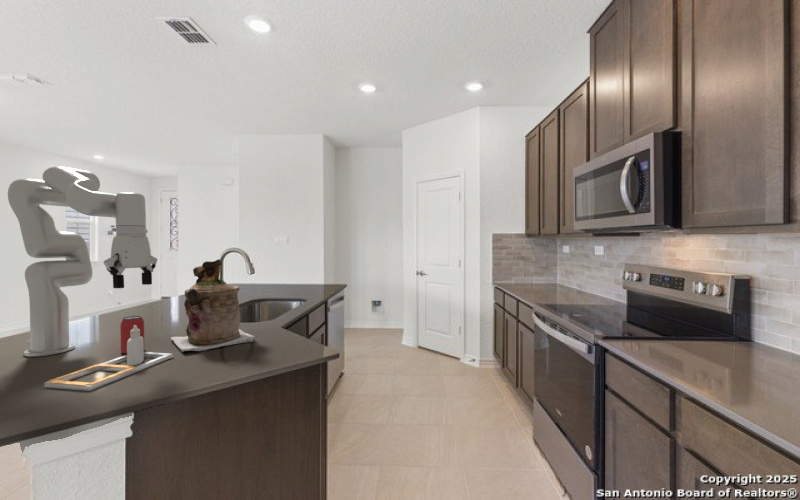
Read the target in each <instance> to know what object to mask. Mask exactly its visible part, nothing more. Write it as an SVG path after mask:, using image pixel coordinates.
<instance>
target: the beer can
mask: <svg viewBox="0 0 800 500" xmlns="http://www.w3.org/2000/svg"><path fill="white" fill-rule="evenodd" d="M134 325H137V328H138V329H140V336H141V337H143V344H144V345H145V320H144V318H143V316H142V315H130V316H125V317H122V319H121V322H120V326H119V327H120V353H122V354H125V355H127V341H128V340H129V339H130V338H131V337H130V331H131V330H132V329H133V327H134Z"/></svg>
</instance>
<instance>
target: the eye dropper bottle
mask: <svg viewBox="0 0 800 500" xmlns="http://www.w3.org/2000/svg"><path fill="white" fill-rule="evenodd" d="M130 337H131V338H130V339H129V340H128V341H127V354H126V355H127V360H126V365H127V366H138V365H140V364H143V363H144V359H145V357H144V352H145V343H144V344H143V337H141V336H140V329H138V328H137V325H134V327H133V329H132V330H131V331H130Z"/></svg>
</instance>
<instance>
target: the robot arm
mask: <svg viewBox="0 0 800 500" xmlns="http://www.w3.org/2000/svg"><path fill="white" fill-rule="evenodd" d="M100 187H101V182H100V179H99V177H98V176H97V175H96V174H95V173H93V172H91V171H89V170H83V169H78V168H72V167H65V166H51V167H49V168H47V169H45V170H44V171H43V173H42V179H36V178H33V179H32V178H20V179H15V180H14V181H12V182H11V183H10V184H9V186H8V190H7V200H8V203H9V206H10V208H11V210H12V212H13V213H14V215H15V217H16V218H17V221H18V223H19V229H20V233H21V237H22V241H23V245H24V249H25V252H26V254H27V255H28V256H29V257H31V258H34V259H35V258H36V259H57V260H42V261H41V260H40V261H37V262H33V263H31V264H29V265H28V266H27V267H26V269H25V271H24V279H25V282H26V286H27V290H28V297H29V299H28V300H29V333H30V334H29V335H30V336H29V337H30V339H28V340H27V341H25V342H24V345H25V346H28V349H27V350H24V351H23V356H25V357H36V358H37V357H45V356H52V355H57V354H63V353H66V352H69V351H71V350H73V349H75V348H76V344H75V343H73V342H70V321H69V320H70V317H69V316H70V308H69V307H70V305H69V298H68V296H67V295H66V293H64V291H62V289H61V288H66V287H77V286H82V285H86V284H88V283H89V282H91V280H92V278H93V267H92V262H91V259H90V254H89V251H88V250H89V249H88V247H87V243H86V241H85V239H84V237H83V236H82V235H81V234H79V233H77V232H73V231H59V230H57V228H56V226H55V220H54V218H53V216H52V215H50V213H49V212H48V211H47V210H45V209H44V208H43V207H42V206H40V205H44V206H45V205H46V206H56V207H69V208H70V209H72V210H74V211H76V212H78V213H80V214H81V215H85V216H89V217H105V218H115V235H116V236H113V238H112V242H111V249H110V257H108V258H106V260H104V261H103V264H104V266H105V268H106V270H107V272H109V274H110V276H112V287H113V289H124V288H125V278H124V277H125V276H124V274H123V273H124V271H125V270H126V269H135V268H137V269H138V268H140V270H142V272H141V285H143V286H145V285H146V286H147V285H153V279H152V278H153V276H152V273H153V272H154V269H155V267H156V266H157V263H158V258H157V257H154V255H152V254H151V252H152V251H151V246H150V245H151V244H150V242H149V238H148V236H147V233H148V229H147V218H146V217H147V216H146V198H145V196H144V195H143V194H141V193H138V192H131V191H130V192H129V191H128V192H127V191H126V192H124V191H123V192H122V191H121V192H117V193H116V194H115V193H109V192H101V191H99V190H100ZM60 258H61V259H62V258H63V259H65V260H58V259H60Z"/></svg>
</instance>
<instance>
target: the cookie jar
mask: <svg viewBox="0 0 800 500" xmlns="http://www.w3.org/2000/svg"><path fill="white" fill-rule="evenodd" d="M222 265H223V264H222V261H221V259H218V258H217V259H216V260H214V261H210V260H207V261H206V260H205V261H204V262H202V265H199V266H195V267H194V268H193V269H192V273H193V277H196V278H197V279H196V281H195V284H193V285H192V286H191V287H189V288H188V289H187V288H186V289H185V290H184V296H185V300H184V303H183V305H184V308H185V309H184V311H185V315H186V316H187V318H188V323H187V326H186V329H185V332H186V336H171V337H170V340H171V341H173V344H174V345H176V347H177V348H178V349H179V350H180V352H181V353H184V352H187V351H189V352H190V351H192V352H204V351H208V350H211V349H217V348H221V347H226V346H231V345H232V346H233V345H236V344H243V343H249V342H250V343H252V342H254V338H255V335H252V334H249V333H246V332H244V331H243V330H242V329H240V323H241V313H240V305H239V304H240V303H239V302H240V301H239V298H238V297H239V296H238V293H239V291H240V289H241V288H240V286H238V285H231V284H229V283H226V282H225V281H224V280H221V279H219V278H220V273H221V266H222Z"/></svg>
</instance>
